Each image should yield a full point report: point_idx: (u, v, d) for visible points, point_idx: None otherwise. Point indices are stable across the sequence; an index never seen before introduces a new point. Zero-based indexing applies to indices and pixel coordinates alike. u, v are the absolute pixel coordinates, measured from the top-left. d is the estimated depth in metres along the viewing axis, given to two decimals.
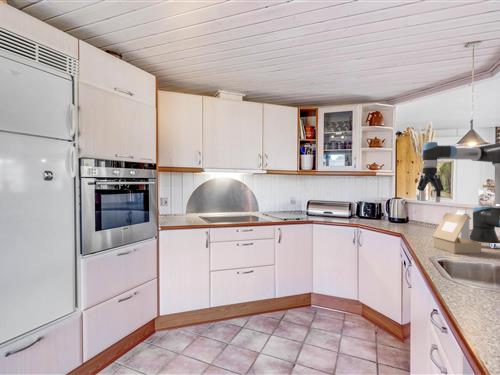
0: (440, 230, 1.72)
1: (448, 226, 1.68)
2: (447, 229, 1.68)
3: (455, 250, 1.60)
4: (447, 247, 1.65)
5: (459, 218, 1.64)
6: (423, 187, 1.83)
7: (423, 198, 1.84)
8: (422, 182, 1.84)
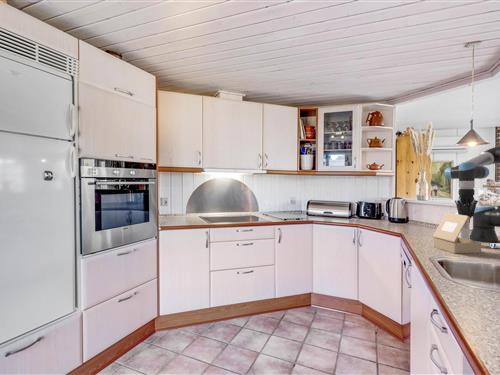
0: (440, 230, 1.72)
1: (448, 226, 1.68)
2: (447, 229, 1.68)
3: (455, 250, 1.60)
4: (447, 247, 1.65)
5: (459, 218, 1.64)
6: None
7: None
8: (471, 207, 1.68)
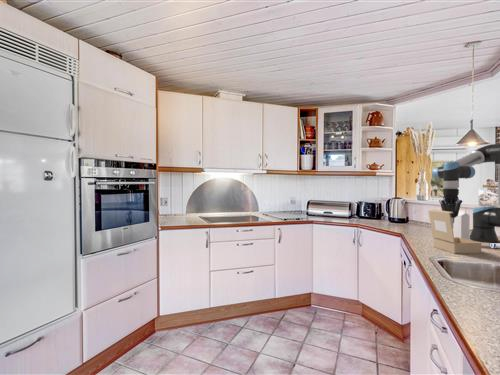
0: (435, 230, 1.72)
1: (439, 225, 1.68)
2: (440, 229, 1.67)
3: (455, 250, 1.60)
4: (447, 247, 1.65)
5: (443, 216, 1.63)
6: None
7: None
8: (456, 207, 1.67)
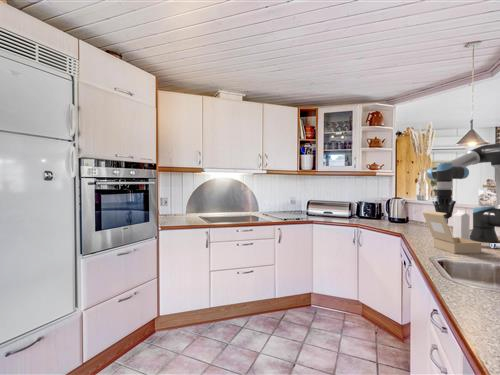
0: (433, 231, 1.72)
1: (436, 226, 1.68)
2: (438, 230, 1.67)
3: (455, 250, 1.60)
4: (447, 247, 1.65)
5: (438, 218, 1.63)
6: None
7: None
8: (450, 207, 1.67)
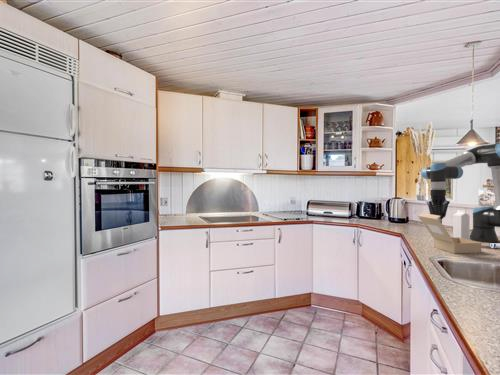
0: (432, 232, 1.72)
1: (434, 228, 1.67)
2: (436, 231, 1.67)
3: (455, 250, 1.60)
4: (447, 247, 1.65)
5: (433, 221, 1.63)
6: (439, 213, 1.67)
7: None
8: (443, 207, 1.67)
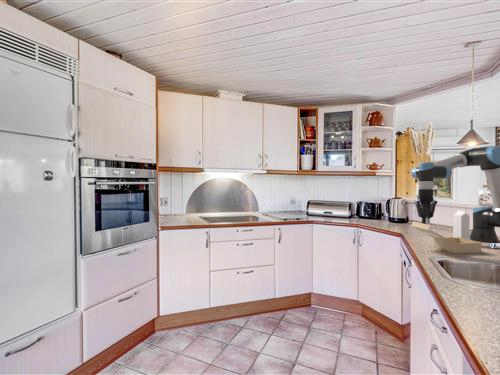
0: (430, 235, 1.72)
1: (430, 233, 1.67)
2: (434, 235, 1.67)
3: (455, 250, 1.60)
4: (447, 247, 1.65)
5: (426, 230, 1.63)
6: (426, 212, 1.66)
7: None
8: (431, 207, 1.66)
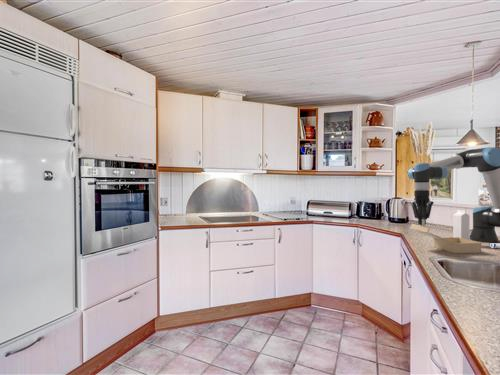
0: None
1: (430, 235, 1.67)
2: (434, 236, 1.67)
3: (455, 250, 1.60)
4: (447, 247, 1.65)
5: (426, 233, 1.63)
6: (423, 213, 1.66)
7: None
8: (427, 208, 1.66)
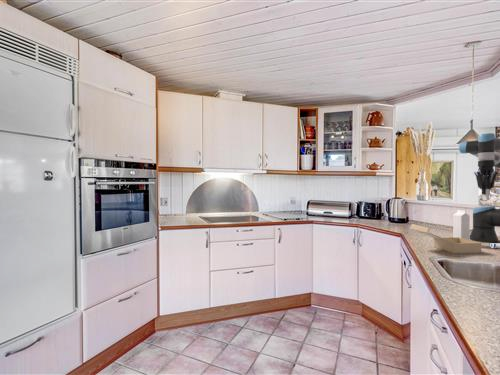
0: (430, 236, 1.72)
1: (430, 235, 1.67)
2: (434, 236, 1.67)
3: (455, 250, 1.60)
4: (447, 247, 1.65)
5: (426, 233, 1.63)
6: None
7: None
8: (491, 178, 1.69)
